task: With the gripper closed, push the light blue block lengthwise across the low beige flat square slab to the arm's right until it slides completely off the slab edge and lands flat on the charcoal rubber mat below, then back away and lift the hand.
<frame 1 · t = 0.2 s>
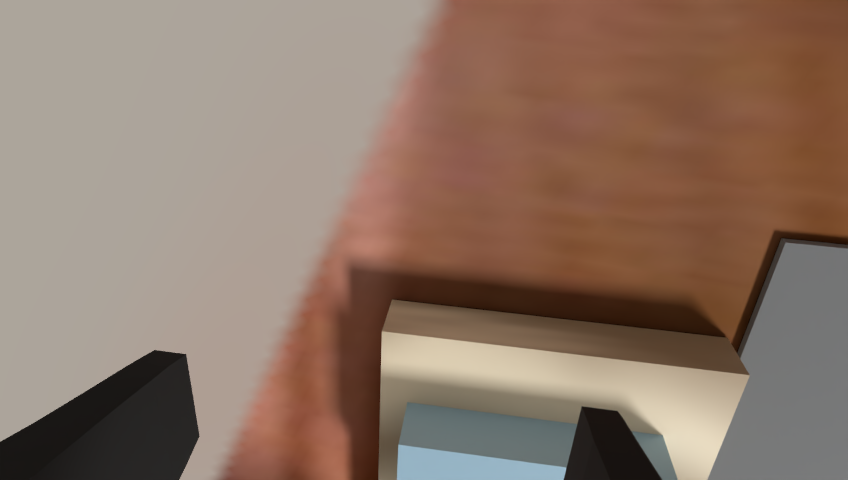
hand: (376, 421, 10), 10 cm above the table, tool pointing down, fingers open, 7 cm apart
light blue block: (521, 477, 21), point 2 cm above the table, touching beige flat square slab
beige flat square slab: (532, 438, 23), on the table
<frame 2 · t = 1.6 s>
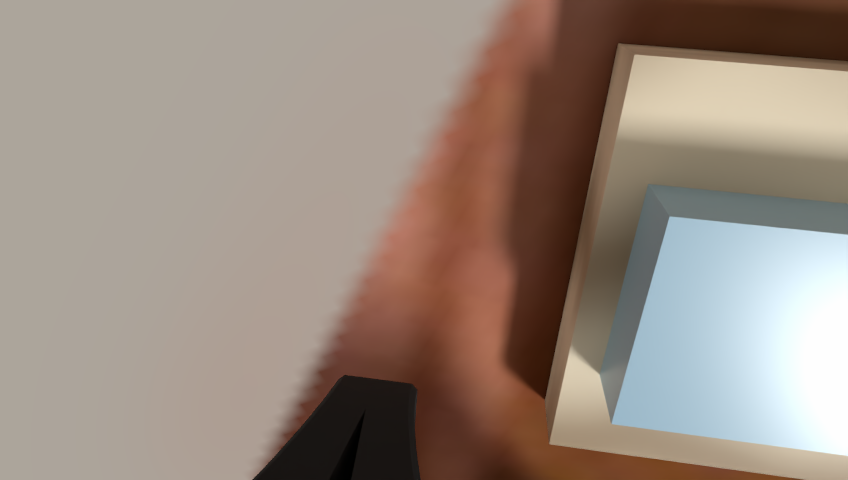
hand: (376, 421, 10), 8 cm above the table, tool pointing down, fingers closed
light blue block: (795, 307, 15), point 2 cm above the table, touching beige flat square slab
beige flat square slab: (781, 272, 17), on the table
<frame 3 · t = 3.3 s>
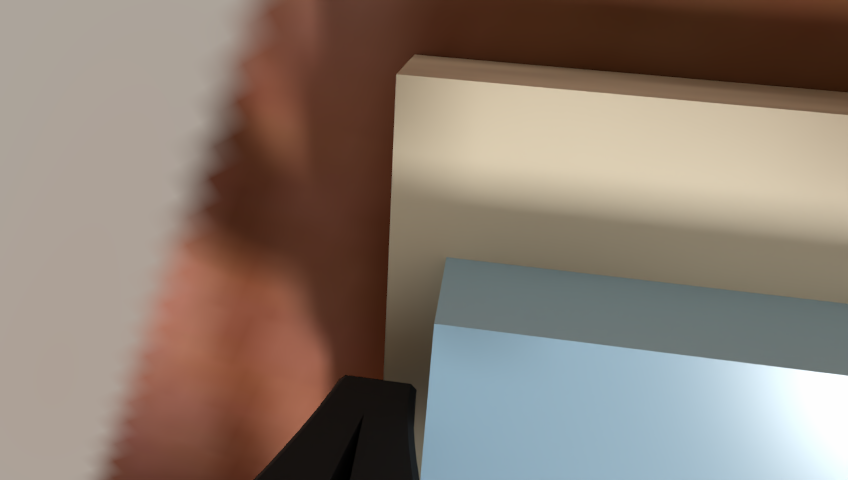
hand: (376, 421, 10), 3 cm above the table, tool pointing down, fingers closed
light blue block: (668, 422, 11), point 2 cm above the table, touching gripper
beige flat square slab: (667, 359, 12), on the table
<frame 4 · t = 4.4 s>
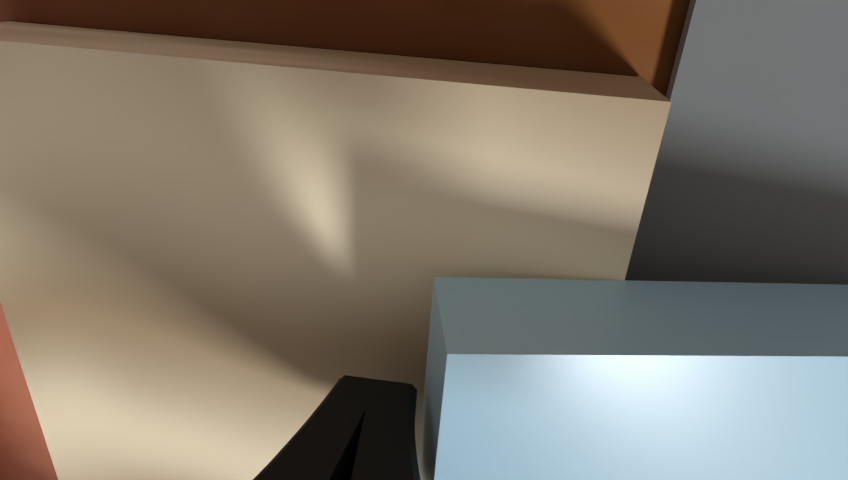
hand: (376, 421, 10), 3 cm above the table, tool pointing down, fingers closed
light blue block: (651, 413, 11), point 2 cm above the table, tilted 11°, touching beige flat square slab
beige flat square slab: (316, 316, 13), on the table
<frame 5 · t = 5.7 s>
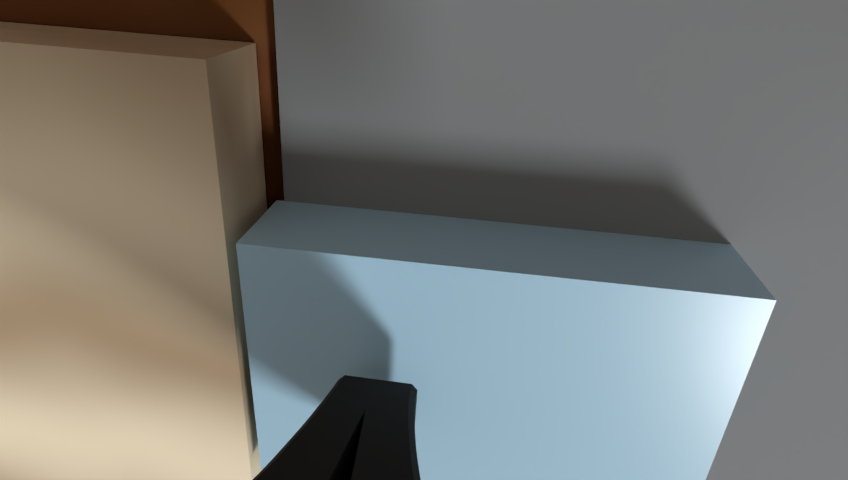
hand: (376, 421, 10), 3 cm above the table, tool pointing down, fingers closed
light blue block: (481, 343, 13), resting on mat
beige flat square slab: (35, 281, 14), on the table
mat: (608, 313, 12), on the table
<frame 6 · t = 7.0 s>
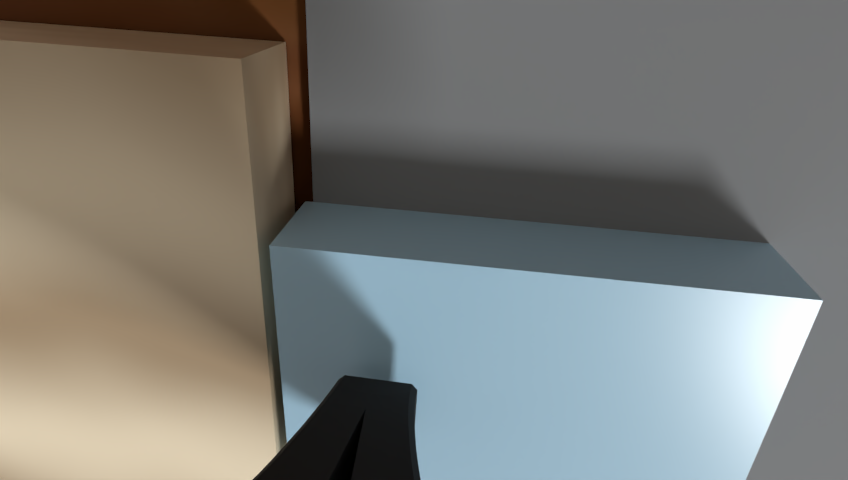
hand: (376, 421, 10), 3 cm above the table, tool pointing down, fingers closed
light blue block: (511, 345, 12), resting on mat
beige flat square slab: (59, 284, 14), on the table
mat: (641, 314, 12), on the table
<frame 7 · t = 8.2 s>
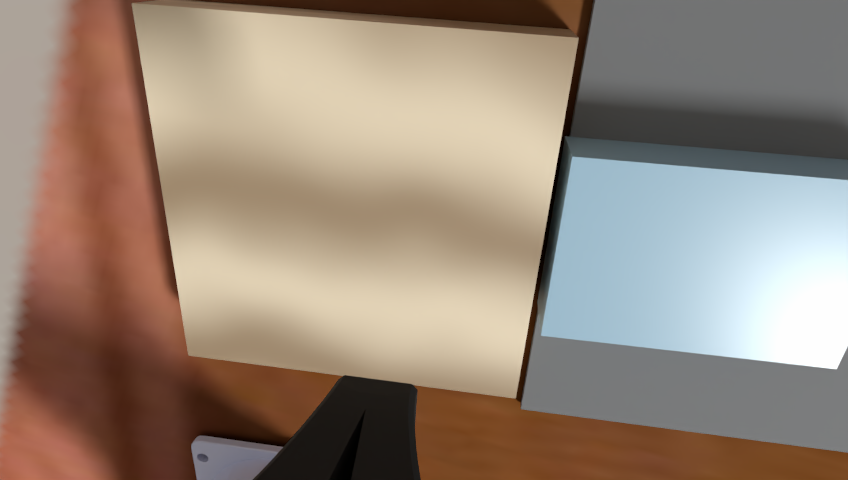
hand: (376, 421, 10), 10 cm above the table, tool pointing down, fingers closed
light blue block: (691, 238, 18), resting on mat
beige flat square slab: (362, 201, 19), on the table
mat: (783, 216, 18), on the table
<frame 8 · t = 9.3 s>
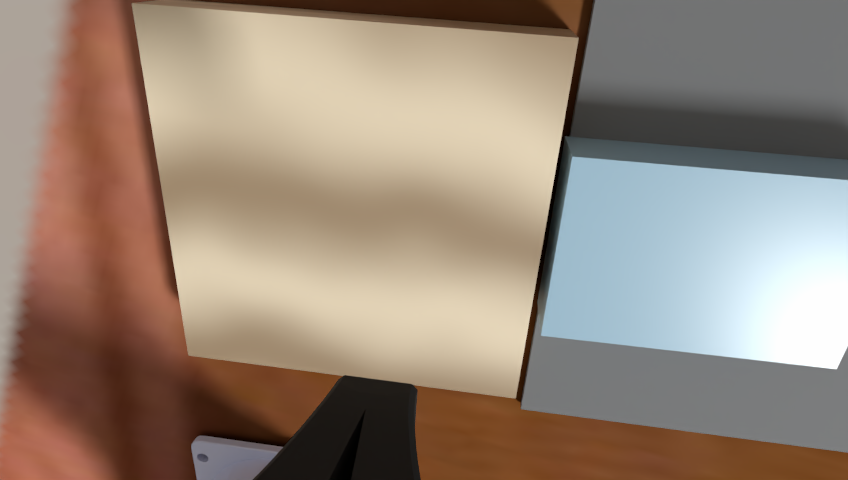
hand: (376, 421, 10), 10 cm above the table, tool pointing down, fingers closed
light blue block: (691, 238, 18), resting on mat
beige flat square slab: (362, 201, 19), on the table
mat: (783, 216, 18), on the table
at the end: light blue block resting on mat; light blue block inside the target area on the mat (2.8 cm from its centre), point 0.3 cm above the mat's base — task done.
